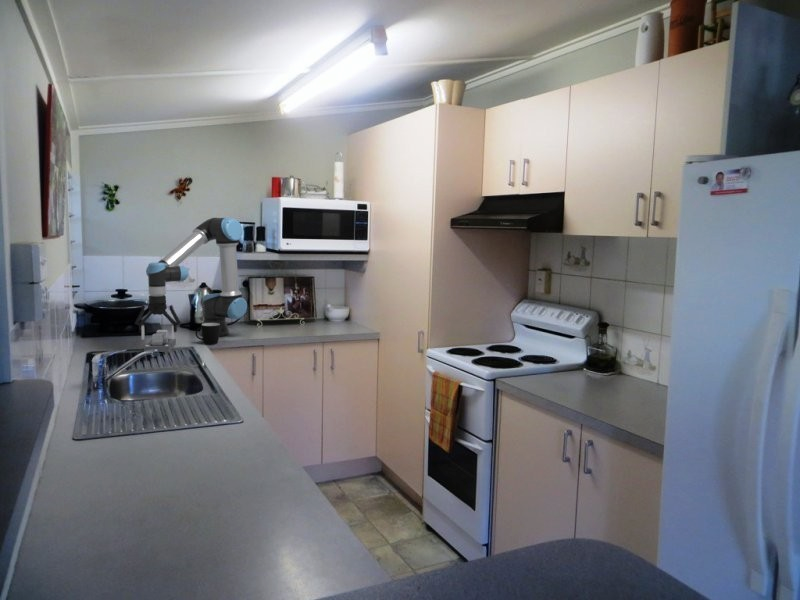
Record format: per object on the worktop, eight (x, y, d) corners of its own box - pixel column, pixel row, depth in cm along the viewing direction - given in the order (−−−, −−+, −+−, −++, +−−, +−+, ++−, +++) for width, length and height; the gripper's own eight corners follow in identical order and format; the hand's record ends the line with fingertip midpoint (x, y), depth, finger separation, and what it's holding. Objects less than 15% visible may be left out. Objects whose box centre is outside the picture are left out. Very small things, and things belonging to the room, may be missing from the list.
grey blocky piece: (175, 344, 301) (175, 328, 300) (168, 352, 281) (168, 336, 280) (152, 344, 299) (152, 329, 298) (144, 353, 279) (143, 336, 278)
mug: (221, 342, 310) (221, 322, 309) (218, 345, 301) (218, 325, 300) (197, 341, 309) (197, 322, 307) (193, 345, 300) (193, 325, 299)
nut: (164, 349, 288) (164, 333, 287) (162, 351, 283) (162, 335, 282) (154, 349, 287) (154, 333, 286) (152, 351, 282) (151, 335, 281)
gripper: (186, 294, 288) (186, 337, 291) (131, 294, 283) (132, 337, 286) (183, 296, 281) (184, 340, 283) (127, 295, 276) (128, 340, 278)
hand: (158, 339), depth 284 cm, fingers open, 13 cm apart
